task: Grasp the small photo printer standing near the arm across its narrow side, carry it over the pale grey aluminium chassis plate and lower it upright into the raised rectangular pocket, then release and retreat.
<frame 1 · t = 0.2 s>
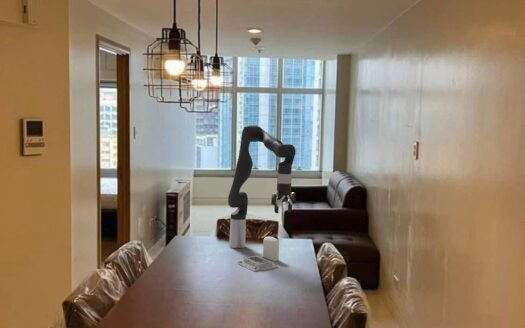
hand: (283, 212, 263), 28 cm above the table, fingers open, 8 cm apart
chassis: (257, 265, 262), on the table
photo printer: (270, 259, 275), on the table
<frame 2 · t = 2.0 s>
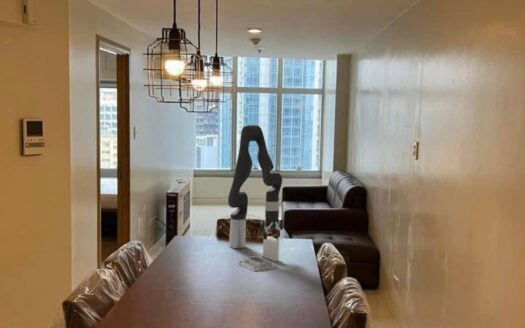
hand: (271, 238, 274), 12 cm above the table, fingers open, 8 cm apart
nothing on the table moved.
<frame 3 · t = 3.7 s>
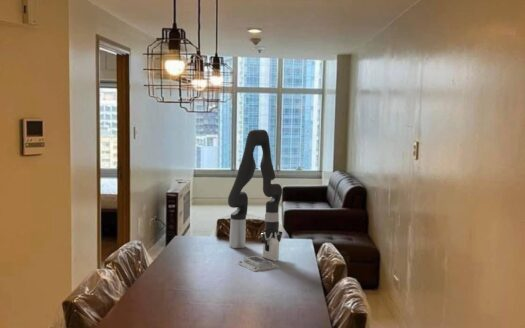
hand: (270, 250, 275), 5 cm above the table, fingers closed on photo printer, 4 cm apart
photo printer: (270, 259, 275), on the table, touching gripper
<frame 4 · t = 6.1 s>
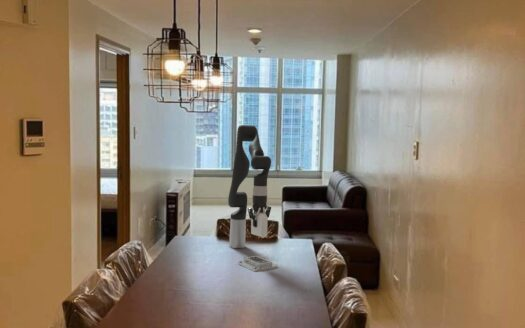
hand: (259, 226, 260), 21 cm above the table, fingers closed on photo printer, 4 cm apart
photo printer: (258, 235, 260), point 16 cm above the table, touching gripper
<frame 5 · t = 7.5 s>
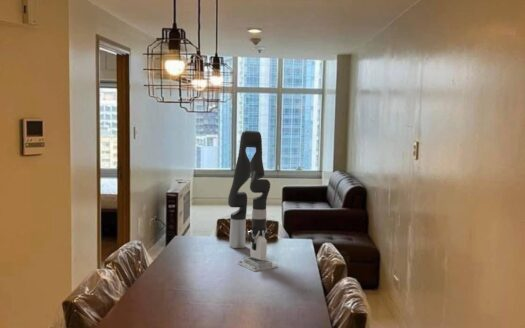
hand: (258, 249, 261), 9 cm above the table, fingers closed on photo printer, 4 cm apart
photo printer: (258, 258, 261), point 4 cm above the table, touching gripper
when the fingers open (7 cm above the table, at t = 8.6 s): photo printer stays where it is, resting on chassis.
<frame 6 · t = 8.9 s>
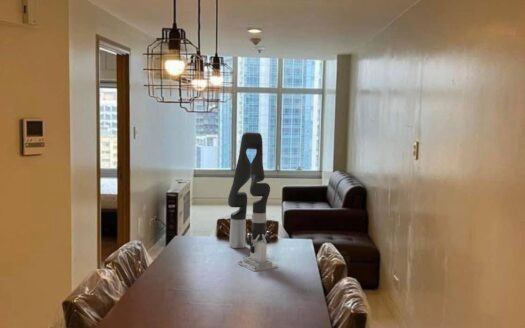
hand: (258, 252, 261), 7 cm above the table, fingers open, 6 cm apart
photo printer: (258, 263, 262), point 1 cm above the table, touching chassis
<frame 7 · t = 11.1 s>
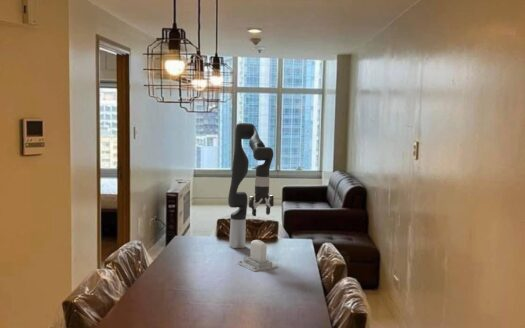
hand: (261, 215, 263), 26 cm above the table, fingers open, 8 cm apart
nothing on the table moved.
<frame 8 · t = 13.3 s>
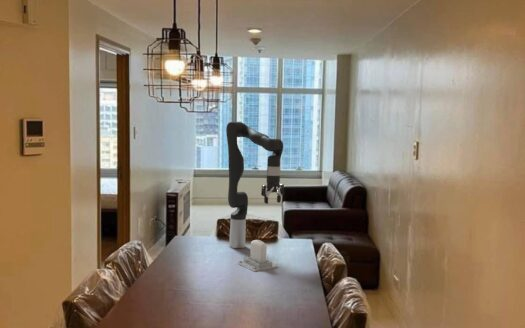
hand: (272, 203, 280), 30 cm above the table, fingers open, 8 cm apart
nothing on the table moved.
at the end: photo printer 0.2 cm off-centre on the chassis, point 0.8 cm above the chassis's base; photo printer tilted 0°; the gripper is holding nothing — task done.
